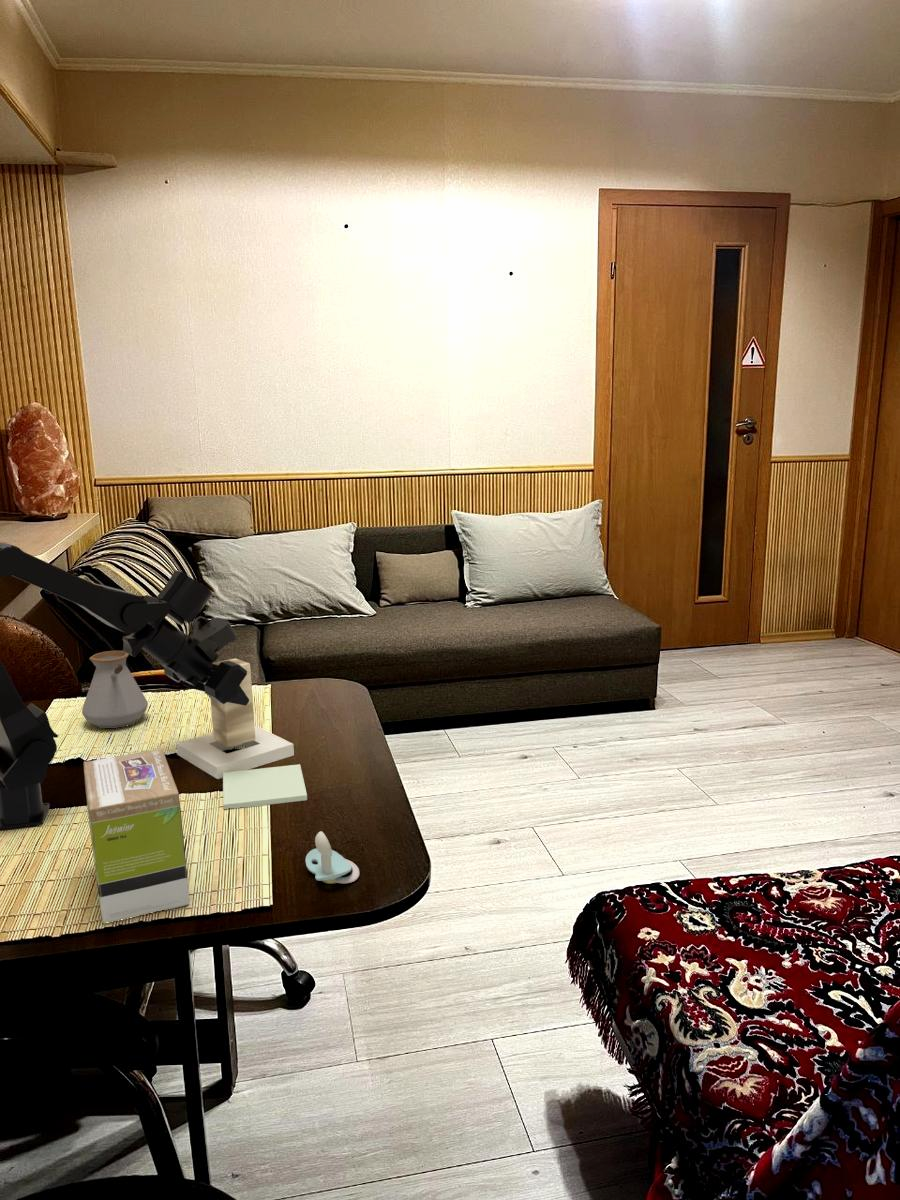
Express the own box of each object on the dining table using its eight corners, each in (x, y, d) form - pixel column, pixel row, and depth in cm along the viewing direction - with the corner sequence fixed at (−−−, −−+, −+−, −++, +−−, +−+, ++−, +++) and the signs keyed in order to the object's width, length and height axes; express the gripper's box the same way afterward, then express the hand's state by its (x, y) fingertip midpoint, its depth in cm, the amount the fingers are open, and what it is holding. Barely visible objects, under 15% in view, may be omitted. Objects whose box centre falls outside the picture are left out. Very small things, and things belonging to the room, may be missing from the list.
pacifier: (345, 858, 118) (301, 869, 116) (345, 813, 117) (300, 823, 114) (368, 884, 112) (322, 895, 109) (368, 836, 111) (321, 847, 108)
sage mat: (307, 800, 135) (306, 795, 135) (223, 809, 132) (223, 804, 132) (300, 768, 147) (300, 764, 146) (223, 777, 144) (222, 772, 144)
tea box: (93, 867, 117) (81, 758, 114) (174, 850, 121) (165, 745, 118) (101, 927, 103) (87, 806, 100) (192, 907, 107) (182, 789, 104)
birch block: (255, 739, 152) (250, 663, 149) (227, 747, 149) (222, 669, 146) (240, 732, 155) (235, 658, 153) (213, 739, 152) (207, 664, 150)
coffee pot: (80, 717, 172) (72, 640, 169) (144, 707, 177) (137, 632, 174) (92, 756, 153) (83, 670, 150) (163, 743, 158) (155, 660, 155)
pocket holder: (294, 755, 152) (293, 744, 152) (217, 779, 143) (216, 767, 143) (251, 733, 162) (250, 722, 162) (177, 754, 153) (176, 743, 153)
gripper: (231, 615, 138) (297, 670, 147) (176, 596, 151) (239, 648, 161) (186, 676, 134) (257, 729, 144) (133, 651, 148) (201, 701, 157)
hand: (239, 699), depth 152 cm, fingers closed on birch block, 5 cm apart
